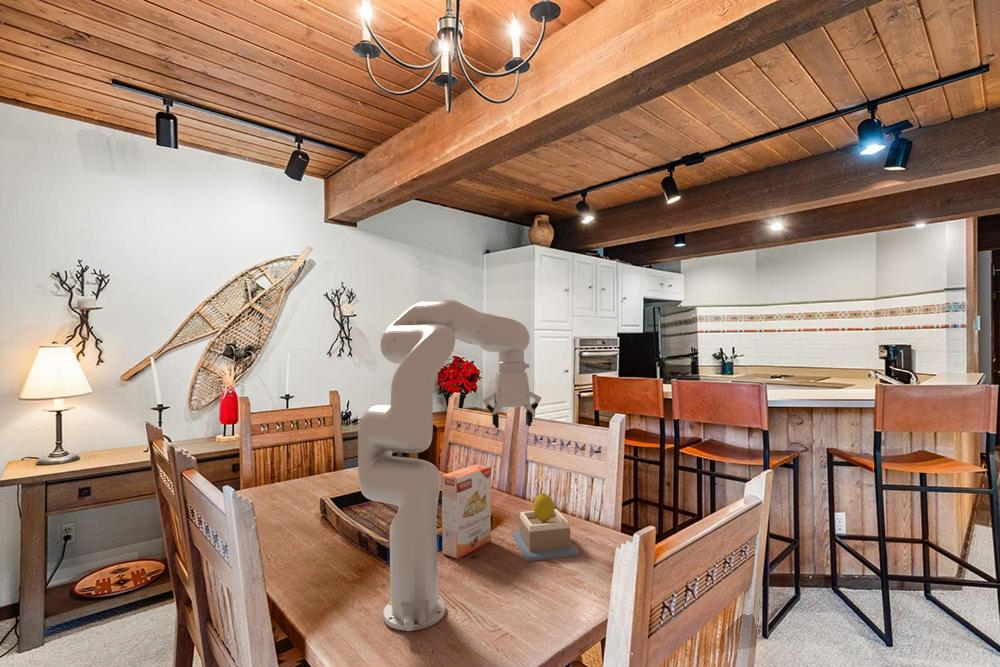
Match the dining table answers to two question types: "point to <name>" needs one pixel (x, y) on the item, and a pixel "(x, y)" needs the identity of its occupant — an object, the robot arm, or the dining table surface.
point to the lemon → (543, 507)
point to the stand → (544, 537)
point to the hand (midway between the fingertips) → (512, 426)
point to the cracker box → (466, 510)
